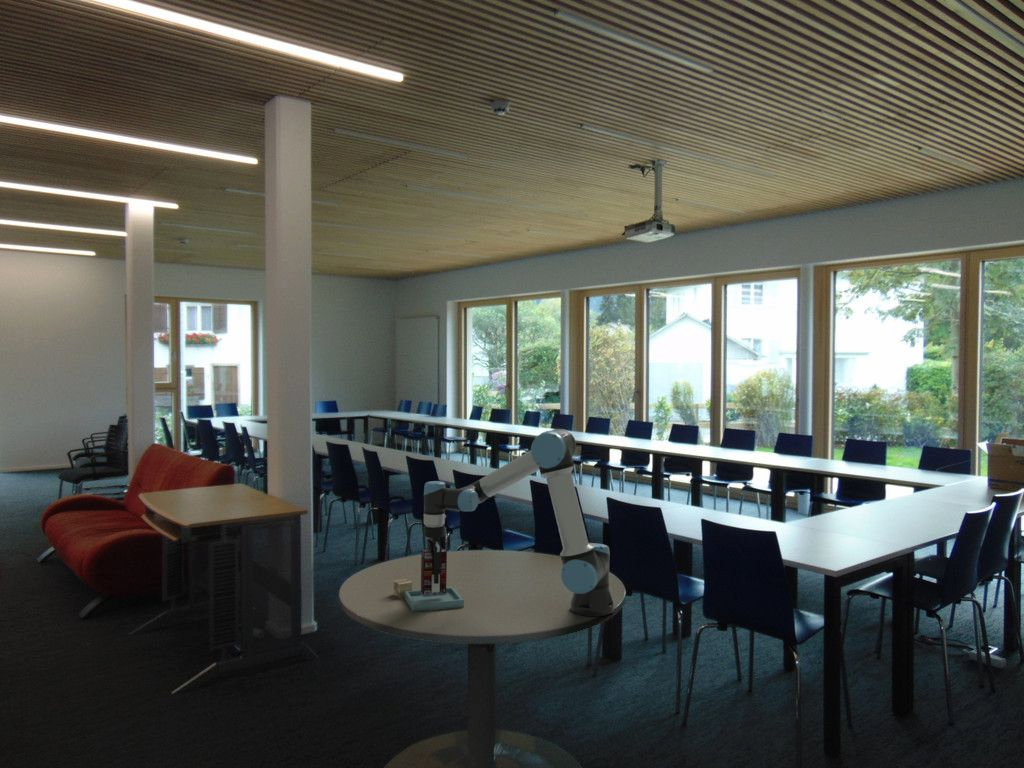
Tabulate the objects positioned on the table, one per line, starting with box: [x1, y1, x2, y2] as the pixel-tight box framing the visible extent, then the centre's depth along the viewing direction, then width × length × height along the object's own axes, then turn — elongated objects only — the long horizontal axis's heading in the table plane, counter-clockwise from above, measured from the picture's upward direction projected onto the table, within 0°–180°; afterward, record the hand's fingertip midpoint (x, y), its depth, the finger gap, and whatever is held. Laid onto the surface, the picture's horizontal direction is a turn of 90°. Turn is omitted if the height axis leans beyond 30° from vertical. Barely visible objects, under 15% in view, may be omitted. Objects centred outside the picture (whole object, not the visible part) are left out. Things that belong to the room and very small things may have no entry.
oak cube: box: [393, 578, 413, 599], centre depth 276 cm, size 5×5×5 cm
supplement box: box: [420, 548, 448, 597], centre depth 268 cm, size 9×5×16 cm, turn 108°
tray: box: [404, 586, 465, 613], centre depth 268 cm, size 16×18×2 cm
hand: (433, 589), depth 268 cm, fingers closed on supplement box, 5 cm apart
